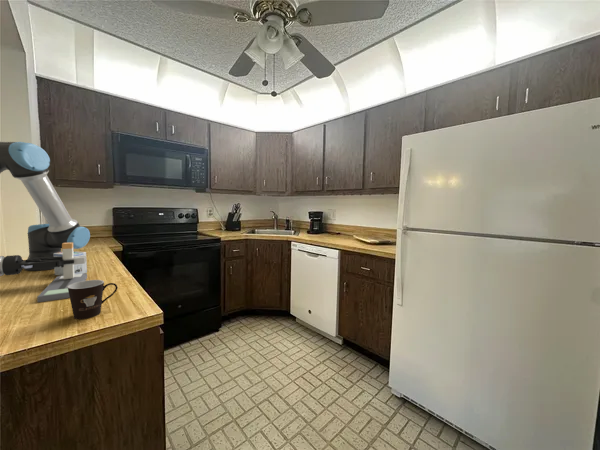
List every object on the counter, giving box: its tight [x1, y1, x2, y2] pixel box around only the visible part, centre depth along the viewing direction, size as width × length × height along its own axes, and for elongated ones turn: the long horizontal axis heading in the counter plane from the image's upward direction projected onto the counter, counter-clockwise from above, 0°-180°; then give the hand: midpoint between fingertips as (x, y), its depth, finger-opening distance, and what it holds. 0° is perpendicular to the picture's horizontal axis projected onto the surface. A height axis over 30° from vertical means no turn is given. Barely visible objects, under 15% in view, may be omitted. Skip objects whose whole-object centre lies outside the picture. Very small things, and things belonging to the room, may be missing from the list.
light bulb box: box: [53, 251, 88, 276], centre depth 117 cm, size 11×7×11 cm, turn 84°
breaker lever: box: [61, 242, 75, 279], centre depth 104 cm, size 3×3×15 cm
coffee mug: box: [68, 279, 118, 320], centre depth 77 cm, size 12×9×10 cm
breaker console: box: [36, 272, 88, 303], centre depth 99 cm, size 28×10×2 cm, turn 35°
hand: (85, 259), depth 107 cm, fingers closed on breaker lever, 3 cm apart
